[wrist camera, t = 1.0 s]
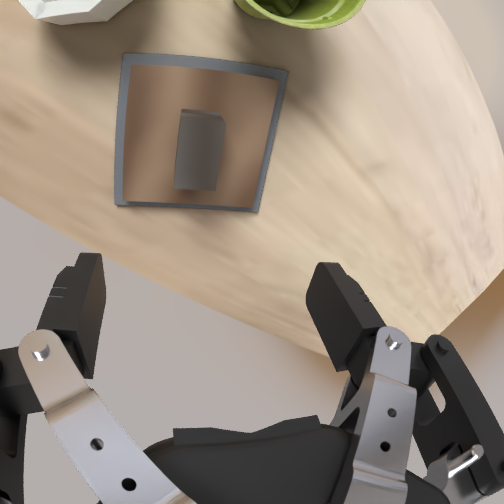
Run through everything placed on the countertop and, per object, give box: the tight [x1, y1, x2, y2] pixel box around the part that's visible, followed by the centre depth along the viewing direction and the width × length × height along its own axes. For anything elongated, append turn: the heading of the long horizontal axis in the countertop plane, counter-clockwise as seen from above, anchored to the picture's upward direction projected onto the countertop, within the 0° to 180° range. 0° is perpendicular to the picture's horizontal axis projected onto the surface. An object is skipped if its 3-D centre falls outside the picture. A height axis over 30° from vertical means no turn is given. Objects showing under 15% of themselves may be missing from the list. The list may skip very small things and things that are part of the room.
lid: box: [123, 65, 279, 208], centre depth 23 cm, size 12×12×6 cm
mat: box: [114, 53, 288, 212], centre depth 25 cm, size 14×14×1 cm
